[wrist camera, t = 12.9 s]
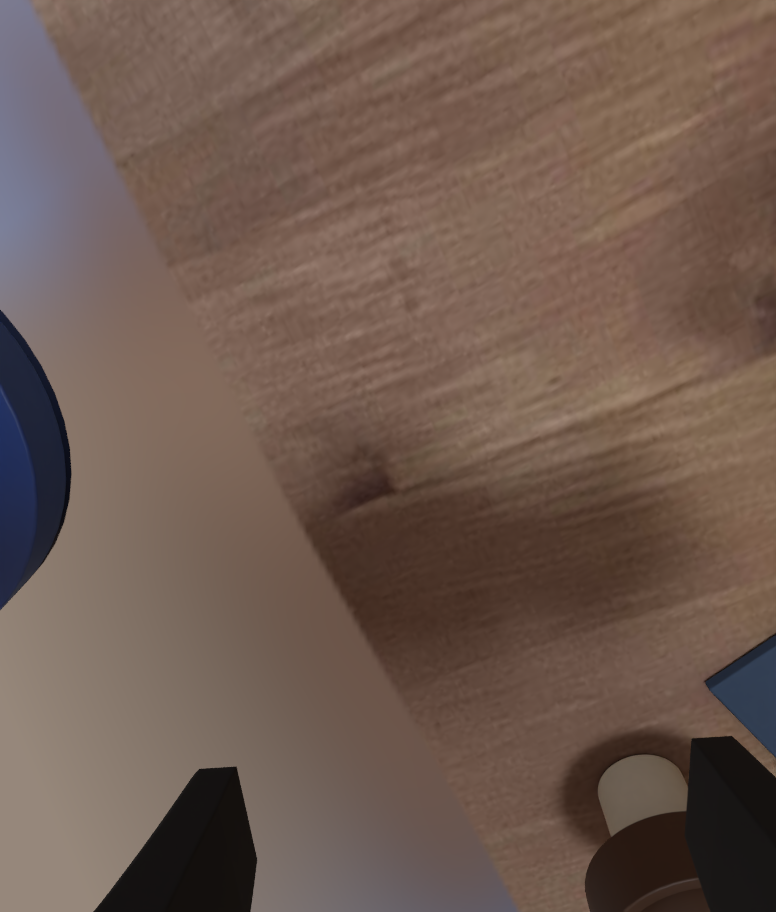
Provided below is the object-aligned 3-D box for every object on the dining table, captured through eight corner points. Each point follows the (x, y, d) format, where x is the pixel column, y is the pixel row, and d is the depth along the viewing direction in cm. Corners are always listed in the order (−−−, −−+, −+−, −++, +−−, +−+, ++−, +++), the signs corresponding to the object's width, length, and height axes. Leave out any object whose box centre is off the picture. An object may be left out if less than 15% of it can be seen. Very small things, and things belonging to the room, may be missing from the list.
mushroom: (557, 846, 24) (617, 1099, 18) (563, 726, 23) (632, 958, 16) (711, 842, 24) (830, 1097, 17) (729, 721, 22) (871, 953, 16)
